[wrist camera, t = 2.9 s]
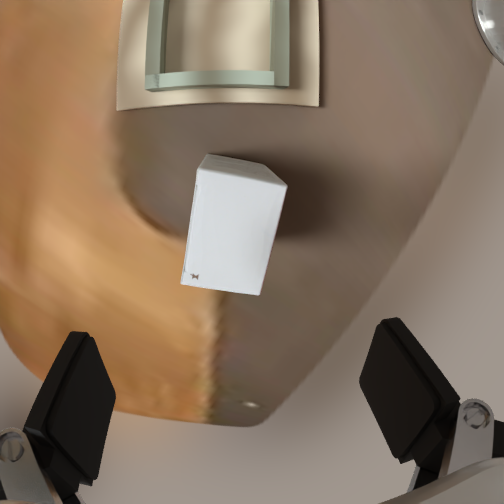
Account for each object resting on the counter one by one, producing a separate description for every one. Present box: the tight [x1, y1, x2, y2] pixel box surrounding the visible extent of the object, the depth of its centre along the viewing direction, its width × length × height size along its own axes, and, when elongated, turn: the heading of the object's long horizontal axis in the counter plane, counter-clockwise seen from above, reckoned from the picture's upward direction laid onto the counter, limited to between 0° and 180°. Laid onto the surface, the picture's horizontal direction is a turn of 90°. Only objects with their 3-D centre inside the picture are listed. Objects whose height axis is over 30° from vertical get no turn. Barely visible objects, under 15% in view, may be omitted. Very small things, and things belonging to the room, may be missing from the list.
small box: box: [181, 154, 288, 295], centre depth 23 cm, size 8×6×10 cm
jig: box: [117, 0, 319, 111], centre depth 19 cm, size 18×16×4 cm
